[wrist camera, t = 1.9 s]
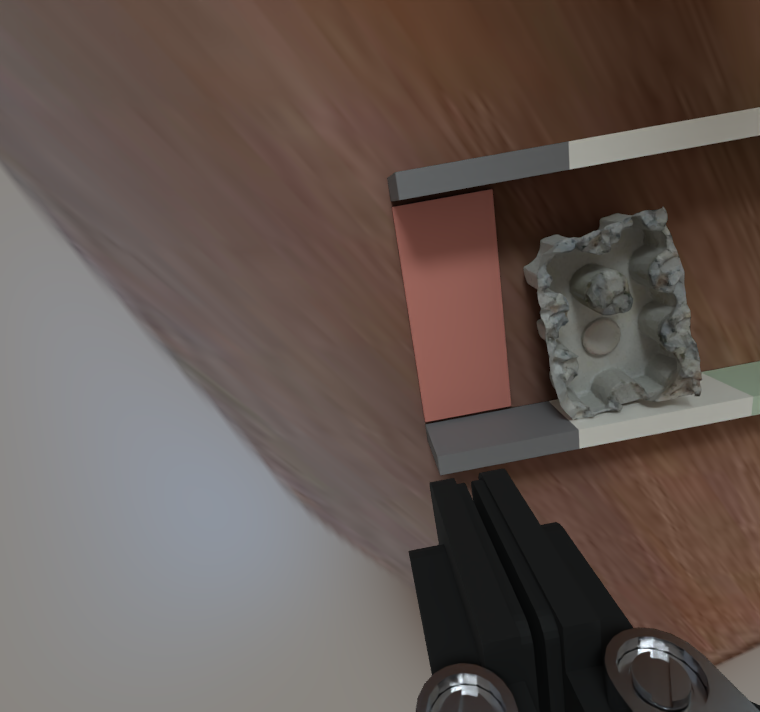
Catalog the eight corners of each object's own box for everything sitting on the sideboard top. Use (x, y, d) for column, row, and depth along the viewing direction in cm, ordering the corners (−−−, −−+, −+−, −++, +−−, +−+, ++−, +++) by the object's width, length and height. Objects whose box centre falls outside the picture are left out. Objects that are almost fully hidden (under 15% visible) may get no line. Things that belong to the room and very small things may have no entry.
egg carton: (663, 374, 28) (708, 404, 24) (543, 404, 29) (568, 438, 25) (650, 199, 25) (700, 202, 21) (513, 239, 25) (537, 248, 22)
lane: (387, 178, 24) (395, 172, 21) (913, 83, 25) (1016, 61, 21) (427, 440, 29) (440, 475, 26) (865, 357, 30) (941, 379, 26)
